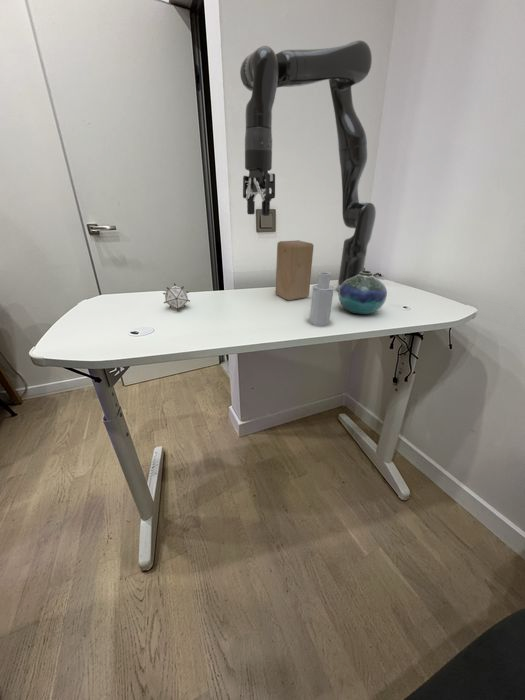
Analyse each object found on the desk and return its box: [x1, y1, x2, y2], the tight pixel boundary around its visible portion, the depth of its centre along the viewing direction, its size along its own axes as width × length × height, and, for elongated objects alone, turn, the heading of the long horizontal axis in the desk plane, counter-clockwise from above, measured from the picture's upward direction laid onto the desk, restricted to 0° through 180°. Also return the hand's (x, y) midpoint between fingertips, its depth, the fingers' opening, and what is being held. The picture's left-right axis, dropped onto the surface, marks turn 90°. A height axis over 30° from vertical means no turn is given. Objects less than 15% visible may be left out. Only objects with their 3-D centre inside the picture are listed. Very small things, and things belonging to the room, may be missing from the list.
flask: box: [308, 271, 335, 327], centre depth 86 cm, size 6×6×15 cm
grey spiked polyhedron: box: [162, 283, 191, 312], centre depth 96 cm, size 9×8×10 cm
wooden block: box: [274, 240, 315, 301], centre depth 109 cm, size 10×10×20 cm
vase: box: [337, 270, 388, 315], centre depth 96 cm, size 15×15×13 cm
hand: (257, 214), depth 87 cm, fingers open, 8 cm apart
